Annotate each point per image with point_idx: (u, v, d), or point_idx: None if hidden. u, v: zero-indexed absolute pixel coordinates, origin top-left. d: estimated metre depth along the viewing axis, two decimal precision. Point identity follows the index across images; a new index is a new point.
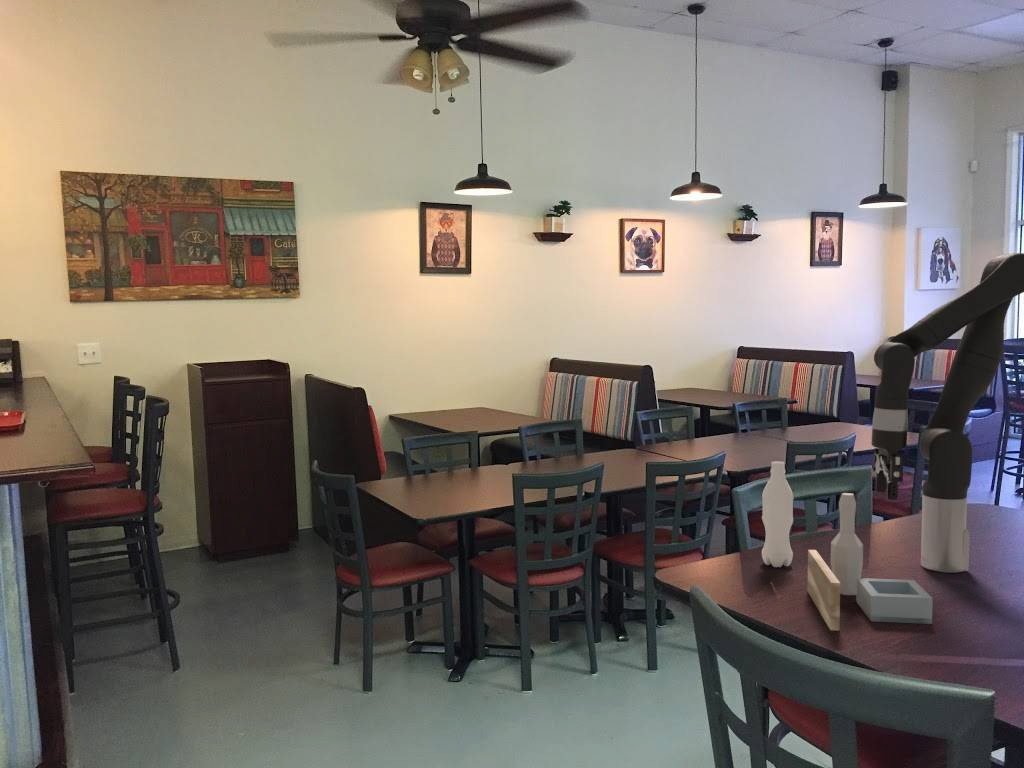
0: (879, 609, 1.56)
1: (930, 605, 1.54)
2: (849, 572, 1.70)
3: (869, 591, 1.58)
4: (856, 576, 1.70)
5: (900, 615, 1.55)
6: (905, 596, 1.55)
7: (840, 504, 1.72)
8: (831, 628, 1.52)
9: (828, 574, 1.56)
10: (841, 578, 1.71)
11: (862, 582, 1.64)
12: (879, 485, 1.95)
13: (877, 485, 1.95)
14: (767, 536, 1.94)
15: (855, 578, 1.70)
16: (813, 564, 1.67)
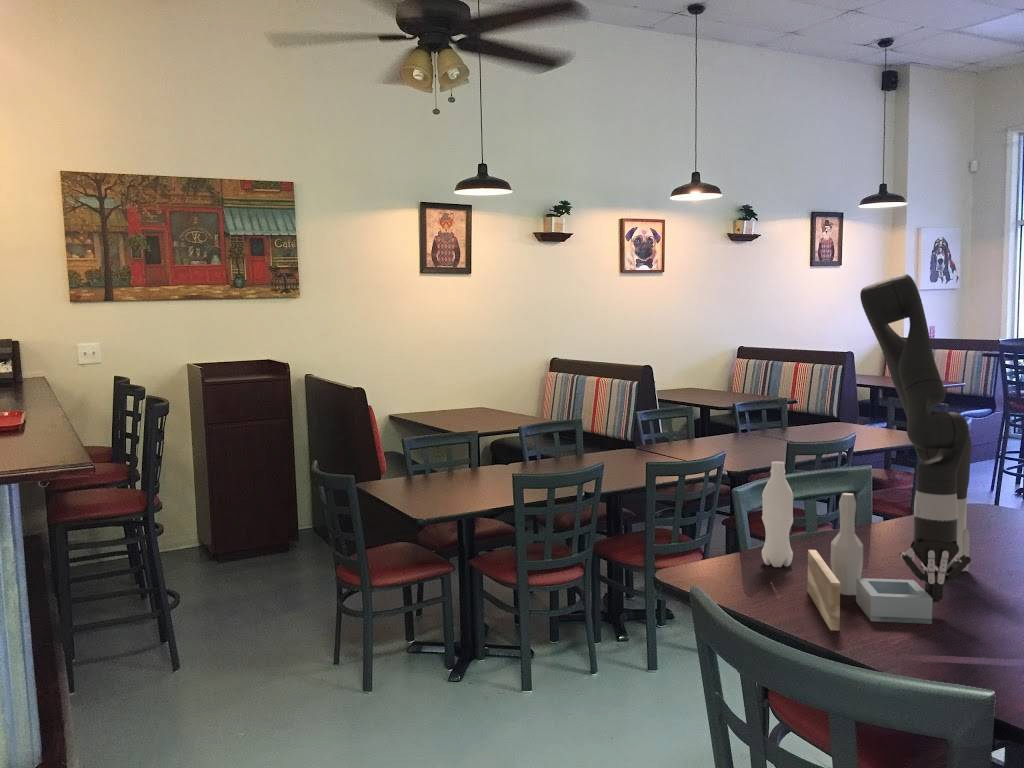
0: (879, 609, 1.56)
1: (930, 605, 1.54)
2: (849, 572, 1.70)
3: (869, 591, 1.58)
4: (856, 576, 1.70)
5: (900, 615, 1.55)
6: (905, 596, 1.55)
7: (840, 504, 1.72)
8: (831, 628, 1.52)
9: (828, 574, 1.56)
10: (841, 578, 1.71)
11: (862, 582, 1.64)
12: None
13: None
14: (767, 536, 1.94)
15: (855, 578, 1.70)
16: (813, 564, 1.67)
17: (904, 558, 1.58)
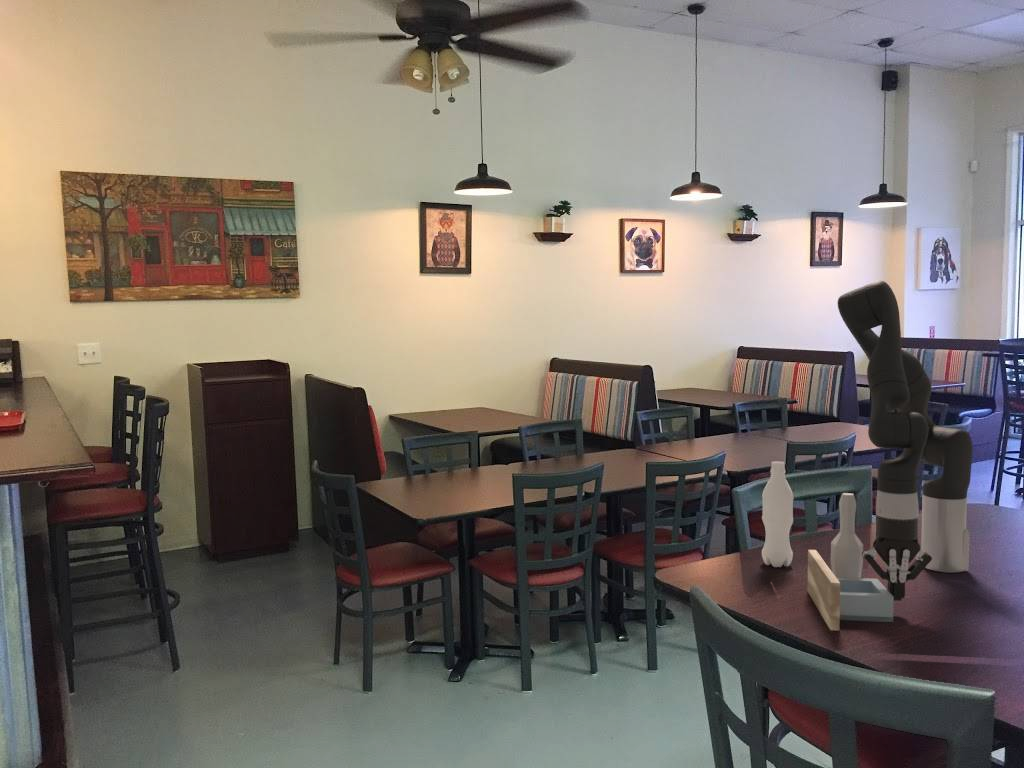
0: (841, 607, 1.57)
1: (891, 603, 1.55)
2: (849, 572, 1.70)
3: None
4: (856, 576, 1.70)
5: (861, 613, 1.56)
6: (866, 595, 1.56)
7: (840, 504, 1.72)
8: (831, 628, 1.52)
9: (828, 574, 1.56)
10: None
11: None
12: None
13: None
14: (767, 536, 1.94)
15: None
16: (813, 564, 1.67)
17: (866, 557, 1.59)
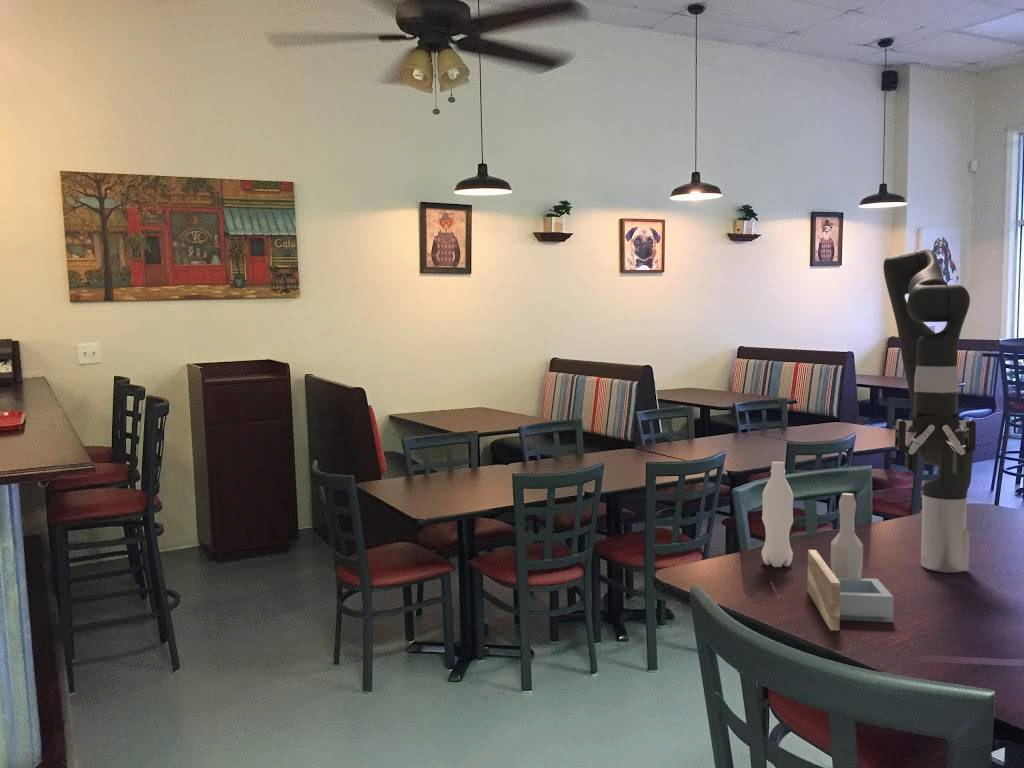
0: (841, 607, 1.57)
1: (891, 603, 1.55)
2: (849, 572, 1.70)
3: None
4: (856, 576, 1.70)
5: (861, 613, 1.56)
6: (866, 595, 1.56)
7: (840, 504, 1.72)
8: (831, 628, 1.52)
9: (828, 574, 1.56)
10: None
11: None
12: None
13: None
14: (767, 536, 1.94)
15: None
16: (813, 564, 1.67)
17: (901, 422, 1.56)
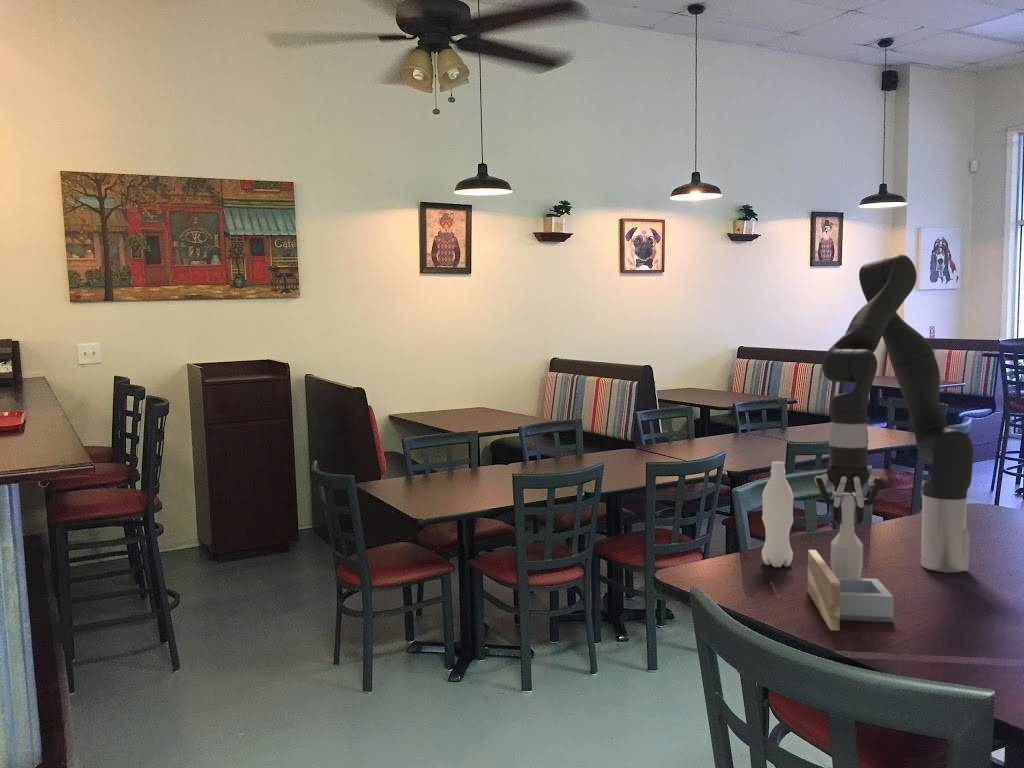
0: (841, 607, 1.57)
1: (891, 603, 1.55)
2: (849, 572, 1.70)
3: None
4: (856, 576, 1.70)
5: (861, 613, 1.56)
6: (866, 595, 1.56)
7: (840, 504, 1.72)
8: (831, 628, 1.52)
9: (828, 574, 1.56)
10: None
11: None
12: None
13: None
14: (767, 536, 1.94)
15: None
16: (813, 564, 1.67)
17: (817, 480, 1.71)
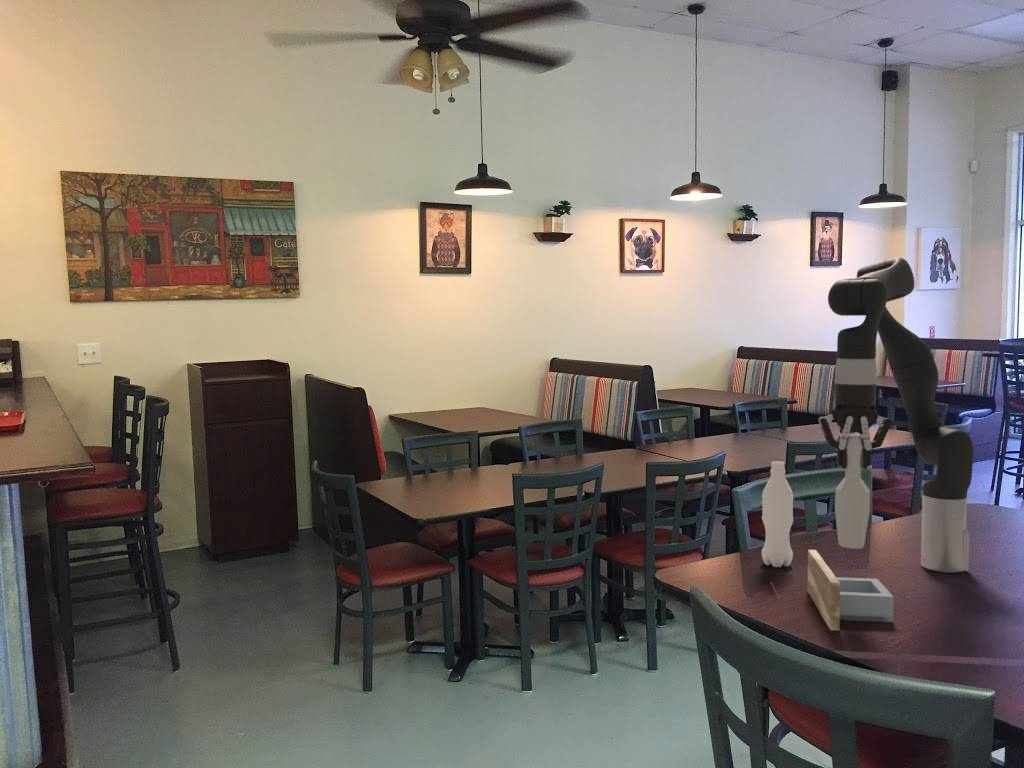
0: (841, 607, 1.57)
1: (891, 603, 1.55)
2: (854, 520, 1.58)
3: None
4: (862, 524, 1.58)
5: (861, 613, 1.56)
6: (866, 595, 1.56)
7: (846, 447, 1.60)
8: (831, 628, 1.52)
9: (828, 574, 1.56)
10: (846, 526, 1.59)
11: None
12: None
13: (845, 460, 1.60)
14: (767, 536, 1.94)
15: (861, 526, 1.58)
16: (813, 564, 1.67)
17: (821, 420, 1.60)
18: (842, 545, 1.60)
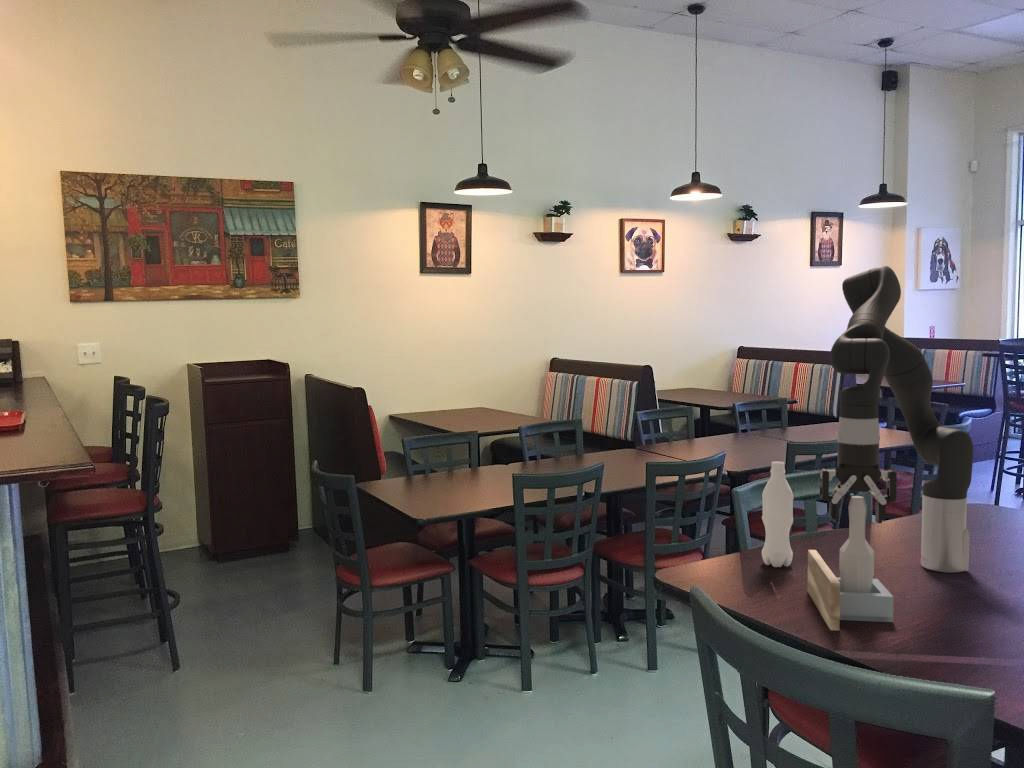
0: (841, 607, 1.57)
1: (891, 603, 1.55)
2: (859, 581, 1.58)
3: None
4: (867, 585, 1.58)
5: (861, 613, 1.56)
6: (866, 595, 1.56)
7: (849, 508, 1.60)
8: (831, 628, 1.52)
9: (828, 574, 1.56)
10: (850, 587, 1.59)
11: None
12: None
13: (838, 514, 1.60)
14: (767, 536, 1.94)
15: (866, 587, 1.59)
16: (813, 564, 1.67)
17: (824, 472, 1.59)
18: None
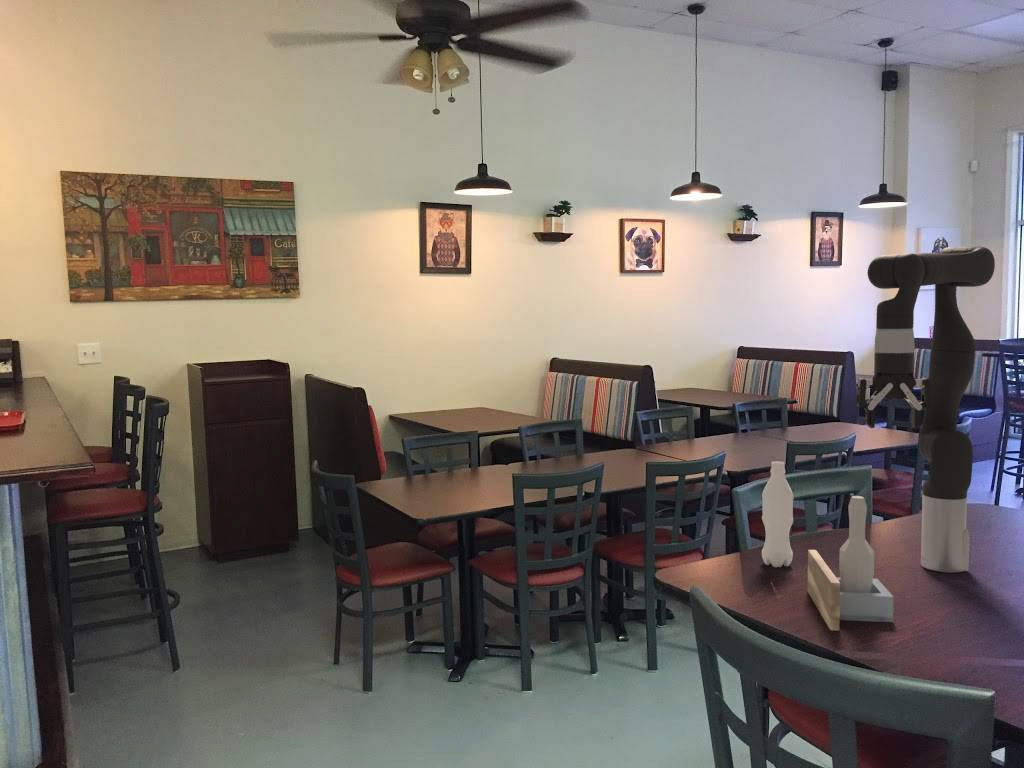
0: (841, 607, 1.57)
1: (891, 603, 1.55)
2: (859, 581, 1.58)
3: None
4: (867, 585, 1.58)
5: (861, 613, 1.56)
6: (866, 595, 1.56)
7: (850, 508, 1.60)
8: (831, 628, 1.52)
9: (828, 574, 1.56)
10: (850, 587, 1.59)
11: None
12: None
13: None
14: (767, 536, 1.94)
15: (866, 587, 1.59)
16: (813, 564, 1.67)
17: (862, 380, 1.69)
18: None
